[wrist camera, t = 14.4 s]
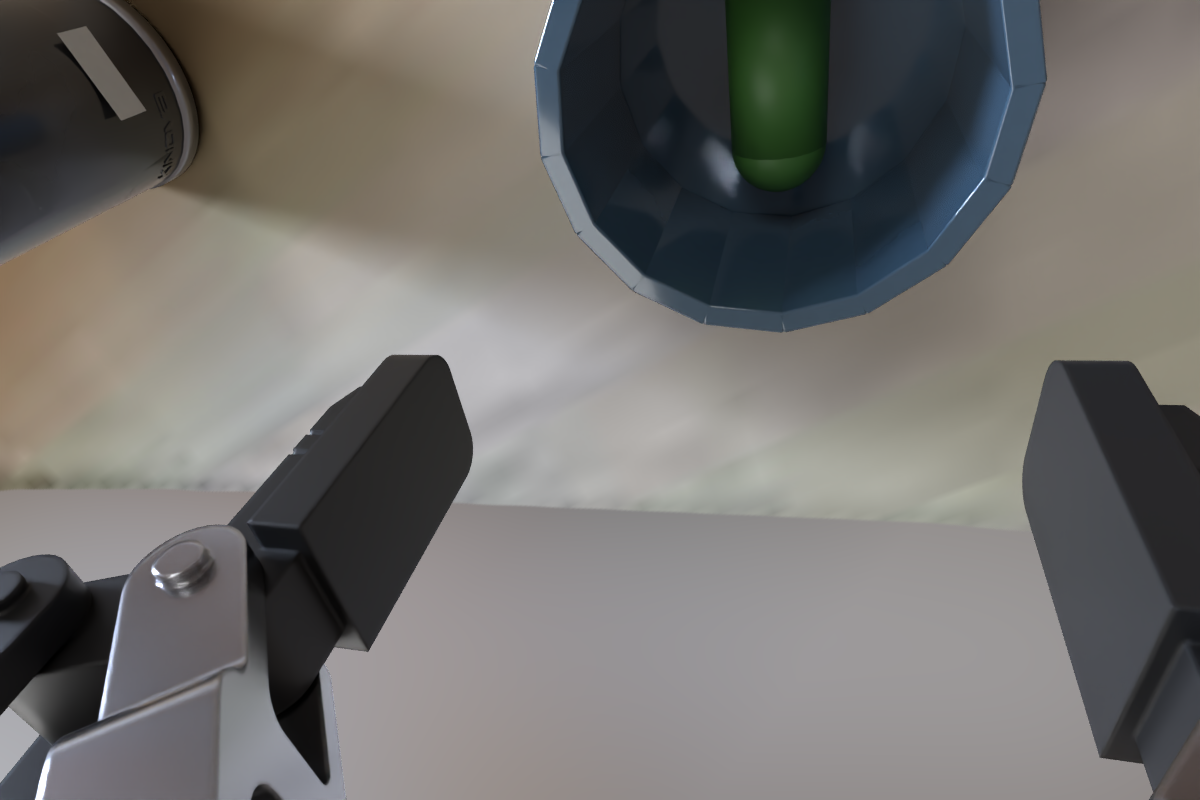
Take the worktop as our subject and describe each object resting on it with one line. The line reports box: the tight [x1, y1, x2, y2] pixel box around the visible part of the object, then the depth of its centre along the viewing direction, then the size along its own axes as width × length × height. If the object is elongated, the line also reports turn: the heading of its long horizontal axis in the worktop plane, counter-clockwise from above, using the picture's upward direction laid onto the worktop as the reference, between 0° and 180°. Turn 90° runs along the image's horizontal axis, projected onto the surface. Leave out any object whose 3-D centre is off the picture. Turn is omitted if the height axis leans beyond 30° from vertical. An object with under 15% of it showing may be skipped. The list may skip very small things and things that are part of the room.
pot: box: [534, 0, 1047, 333], centre depth 24 cm, size 14×14×8 cm
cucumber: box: [725, 0, 831, 192], centre depth 25 cm, size 9×3×3 cm, turn 10°
